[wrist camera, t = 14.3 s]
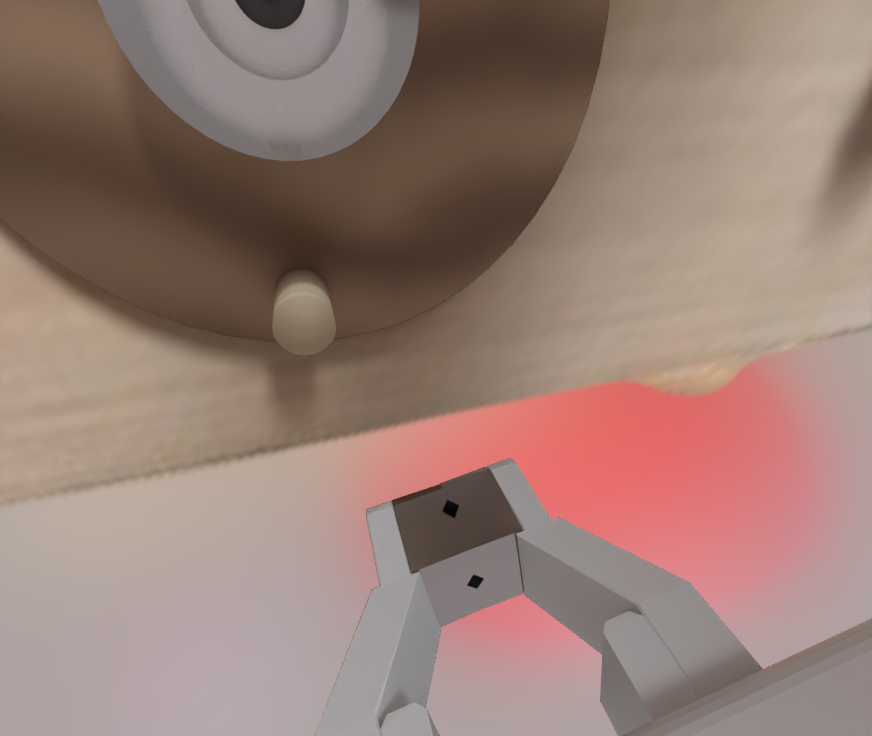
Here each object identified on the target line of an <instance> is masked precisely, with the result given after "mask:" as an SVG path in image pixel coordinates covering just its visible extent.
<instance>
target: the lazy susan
mask: <svg viewBox="0 0 872 736" xmlns="http://www.w3.org/2000/svg"><path fill="white" fill-rule="evenodd" d="M608 8H609V0H419V11H420V12H419V23H418V34H417V40H416V45H415V50H414V55H413V58H412V62H411V65H410V68H409V71H408V74H407V77H406V79H405V81H404V83H403V86H402V88H401V90H400V92H399V94H398V96H397V97H396V99H395V101H394V102H393V104H392V105H391V107H390V109H389V110H388V111H387V113H386V114H385V115H384V116H383V117H382V119H381V120H380V121H379V122H378V123H377V124H376V125H375V126H374V127H373V128H372V129H371V130H370V131H369V132H368V133H367V134H366V135H364V136H363V137H361V138H360V139H359V140H357V141H356V142H354V143H353V144H351V145H350V146H348V147H345V148H343V149H341V150H339V151H337V152H335V153H332V154H329V155H326V156H323V157H320V158H314V159H308V160H302V161H280V160H271V159H264V158H260V157H255V156H251V155H247V154H244V153H242V152H239V151H236V150H234V149H231V148H229V147H226V146H224V145H222V144H220V143H218V142H216V141H215V140H213V139H211V138H209V137H207V136H205V135H204V134H202V133H201V132H199V131H198V130H196V129H195V128H193V127H192V126H190V125H189V124H188V123H186V122H185V121H184V120H183V119H182V118H180V117H179V116H178V115H177V114H176V113H174V112H173V111H172V110H171V109H170V108H169V107H168V106H167V105H166V104H165V103H164V102H163V101H162V100H161V99H160V98H159V97H158V96H157V95H156V94H155V93H154V92H153V91H152V90H151V89H150V88H149V86H148V85H147V84H146V83H145V81H144V80H143V79H142V78H141V76H140V75H139V74H138V73H137V71H136V70H135V69H134V67H133V66H132V64H131V63H130V61H129V60H128V58H127V57H126V55H125V54H124V52H123V51H122V49H121V48H120V46H119V44H118V42H117V40H116V38H115V36H114V35H113V33H112V31H111V29H110V27H109V25H108V23H107V21H106V19H105V16H104V14H103V11H102V9H101V7H100V4H99V2H98V0H0V219H1V220H2V221H3V222H5V223H6V224H7V225H8V226H9V227H10V228H11V229H13V230H14V231H15V232H17V233H18V234H19V235H21V236H22V237H23V238H25V239H26V240H27V241H29V242H30V243H31V244H33V245H34V246H36V247H37V248H38V249H40V250H41V251H42V252H44V253H45V254H46V255H48V256H49V257H50V258H52V259H53V260H54V261H56V262H57V263H59V264H60V265H62V266H64V267H65V268H67V269H69V270H70V271H72V272H74V273H75V274H77V275H79V276H80V277H82V278H84V279H85V280H87V281H89V282H90V283H92V284H94V285H95V286H97V287H98V288H100V289H102V290H104V291H106V292H108V293H110V294H112V295H114V296H116V297H118V298H120V299H122V300H125V301H127V302H129V303H131V304H133V305H135V306H137V307H139V308H141V309H143V310H146V311H148V312H151V313H154V314H156V315H159V316H162V317H165V318H168V319H170V320H173V321H176V322H179V323H181V324H184V325H187V326H190V327H194V328H199V329H203V330H207V331H211V332H215V333H219V334H223V335H227V336H233V337H240V338H248V339H255V340H262V341H277V343H278V344H279V345H280V346H281V347H282V348H283V349H285V350H286V351H288V352H290V353H292V354H296V355H301V356H308V355H314V354H317V353H319V352H321V351H323V350H325V349H326V348H327V347H328V346H329V345H330V344H331V342H332V341H333V339H341V338H346V337H351V336H355V335H360V334H365V333H370V332H374V331H377V330H380V329H383V328H386V327H389V326H392V325H395V324H398V323H401V322H404V321H406V320H408V319H410V318H412V317H414V316H416V315H419V314H421V313H423V312H425V311H427V310H429V309H431V308H433V307H435V306H437V305H438V304H440V303H441V302H443V301H445V300H446V299H448V298H449V297H451V296H453V295H454V294H456V293H457V292H459V291H460V290H462V289H463V288H465V287H466V286H467V285H468V284H470V283H471V282H472V281H473V280H474V279H476V278H477V277H478V276H479V275H481V274H482V273H483V272H484V271H486V270H487V269H488V268H489V267H490V266H491V265H492V264H493V263H494V262H495V261H496V260H497V259H498V258H499V257H500V256H501V255H502V254H503V253H504V252H505V251H506V250H507V249H508V248H509V247H510V246H511V245H512V244H513V243H514V241H515V240H516V239H517V238H518V236H519V235H520V234H521V232H522V231H523V230H524V229H525V227H526V226H527V225H528V224H529V222H530V221H531V220H532V219H533V217H534V216H535V215H536V213H537V211H538V210H539V208H540V207H541V205H542V203H543V202H544V200H545V199H546V197H547V196H548V194H549V192H550V191H551V189H552V188H553V186H554V184H555V182H556V180H557V178H558V176H559V174H560V172H561V170H562V168H563V166H564V164H565V162H566V160H567V158H568V156H569V154H570V152H571V150H572V148H573V145H574V143H575V140H576V138H577V135H578V132H579V130H580V127H581V124H582V122H583V119H584V116H585V114H586V111H587V108H588V105H589V101H590V97H591V94H592V90H593V86H594V83H595V79H596V75H597V72H598V68H599V64H600V58H601V52H602V47H603V41H604V35H605V30H606V24H607V18H608Z"/></svg>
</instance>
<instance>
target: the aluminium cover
mask: <svg viewBox="0 0 872 736" xmlns="http://www.w3.org/2000/svg"><path fill="white" fill-rule="evenodd" d="M98 2H99V4H100V7H101V9H102V11H103V14H104V16H105V19H106V21H107V23H108V25H109V27H110V29H111V31H112V33H113V35H114V36H115V38H116V40H117V42H118V44H119V46H120V48H121V49H122V51H123V52H124V54H125V55H126V57H127V58H128V60H129V61H130V63H131V64H132V66H133V67H134V69H135V70H136V71H137V73H138V74H139V75H140V76H141V78H142V79H143V80H144V81H145V83H146V84H147V85H148V86H149V88H150V89H151V90H152V91H153V92H154V93H155V94H156V95H157V96H158V97H159V98H160V99H161V100H162V101H163V102H164V103H165V104H166V105H167V106H168V107H169V108H170V109H171V110H172V111H173V112H174V113H176V114H177V115H178V116H179V117H180V118H182V119H183V120H184V121H185V122H186V123H188V124H189V125H190V126H192V127H193V128H195V129H196V130H198V131H199V132H201V133H202V134H204V135H205V136H207V137H209V138H211V139H213V140H215V141H216V142H218V143H220V144H222V145H224V146H226V147H229V148H231V149H234V150H236V151H239V152H242V153H244V154H247V155H251V156H255V157H260V158H264V159H271V160H280V161H302V160H308V159H314V158H320V157H323V156H326V155H329V154H332V153H335V152H337V151H339V150H341V149H343V148H345V147H348V146H350V145H351V144H353V143H354V142H356V141H357V140H359V139H360V138H361V137H363V136H364V135H366V134H367V133H368V132H369V131H370V130H371V129H372V128H373V127H374V126H375V125H376V124H377V123H378V122H379V121H380V120H381V119H382V117H383V116H384V115H385V114H386V113H387V111H388V110H389V109H390V107H391V105H392V104H393V102H394V101H395V99H396V97H397V96H398V94H399V92H400V90H401V88H402V86H403V83H404V81H405V79H406V77H407V74H408V71H409V68H410V65H411V62H412V58H413V55H414V50H415V45H416V40H417V34H418V23H419V12H420V11H419V0H98Z"/></svg>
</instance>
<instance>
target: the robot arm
mask: <svg viewBox="0 0 872 736" xmlns="http://www.w3.org/2000/svg"><path fill="white" fill-rule="evenodd" d="M366 518H367V523H368V529H369V534H370V539H371V544H372V549H373V554H374V559H375V564H376V570H377V575H378V580H379V585H380V586H379V587H377V588H374V589H372V590H371V593H370V596H369V598H368V600H367V603H366V606H365V608H364V611H363V613H362V616H361V618H360V621H359V623H358V626H357V629H356V631H355V634H354V636H353V639H352V641H351V644H350V646H349V649H348V651H347V654H346V657H345V659H344V662H343V664H342V667H341V669H340V672H339V674H338V677H337V680H336V682H335V685H334V687H333V690H332V692H331V695H330V697H329V700H328V703H327V705H326V708H325V710H324V713H323V715H322V718H321V721H320V723H319V726H318V728H317V730H316V733H315V736H440V735H439V733H438V731H437V729H436V727H435V725H434V723H433V721H432V719H431V717H430V715H429V713H428V710H427V709H426V704H427V699H428V694H429V689H430V683H431V679H432V673H433V668H434V663H435V658H436V653H437V648H438V643H439V638H440V632H441V630H440V627H442V626H444V625H447V624H449V623H451V622H453V621H456V620H458V619H460V618H463V617H465V616H467V615H470V614H472V613H474V612H476V611H479V610H481V609H483V608H486V607H489V606H491V605H494V604H497V603H500V602H502V601H505V600H508V599H510V598H513V597H516V596H518V595H521V594H524V593H525V596H526V597H527V598H529V599H530V600H531V601H533V602H534V603H535V604H537V605H538V606H539V607H541V608H542V609H543V610H545V611H546V612H547V613H548V614H550V615H551V616H553V617H554V618H555V619H556V620H558V621H559V622H560V623H562V624H563V625H564V626H566V627H567V628H568V629H570V630H571V631H572V632H573V633H575V634H576V635H577V636H579V637H580V638H581V639H583V640H584V641H585V642H587V643H588V644H589V645H590V646H592V647H593V648H594V649H596V650H597V651H598V652H600V653H601V654H602V674H601V694H600V695H601V696H600V702H601V703H602V705H603V707H604V709H605V711H606V713H607V715H608V717H609V719H610V721H611V723H612V725H613V727H614V729H615V731H616V733H617V735H618V736H872V619H870V620H867V621H865V622H863V623H861V624H859V625H857V626H855V627H852V628H850V629H848V630H846V631H844V632H842V633H840V634H838V635H835V636H833V637H831V638H829V639H827V640H825V641H823V642H820V643H818V644H816V645H814V646H812V647H810V648H807V649H805V650H803V651H801V652H799V653H797V654H795V655H792V656H790V657H788V658H786V659H784V660H782V661H780V662H777V663H775V664H773V665H771V666H769V667H767V668H765V669H762V668H761V666H760V665H759V664H758V663H757V662H756V660H755V659H754V658H753V657H752V656H751V655H750V653H749V652H748V651H747V650H746V648H745V647H744V646H743V645H742V644H741V643H740V641H739V640H738V639H737V638H736V636H735V635H734V634H733V633H732V632H731V631H730V629H729V628H728V627H727V626H726V625H725V623H724V622H723V621H722V620H721V619H720V617H719V616H718V615H717V614H716V613H715V612H714V610H713V609H712V608H711V607H710V606H709V604H708V603H707V602H706V601H705V600H704V598H703V597H702V596H701V595H700V593H699V592H698V591H697V590H696V589H695V588H694V586H693V585H692V584H691V583H690V582H688V581H686V580H684V579H682V578H680V577H678V576H676V575H673V574H672V573H670V572H668V571H666V570H664V569H662V568H660V567H658V566H655V565H654V564H652V563H650V562H648V561H646V560H644V559H642V558H640V557H638V556H636V555H634V554H632V553H630V552H628V551H626V550H624V549H622V548H620V547H618V546H616V545H614V544H612V543H610V542H608V541H606V540H604V539H602V538H600V537H598V536H596V535H594V534H592V533H590V532H588V531H586V530H584V529H582V528H580V527H578V526H576V525H574V524H572V523H570V522H568V521H566V520H564V519H562V518H560V517H559V518H556V519H553V520H552V519H551V517H550V516H549V514H548V512H547V511H546V509H545V508H544V506H543V505H542V503H541V502H540V500H539V498H538V497H537V495H536V494H535V492H534V491H533V489H532V488H531V486H530V484H529V483H528V481H527V480H526V478H525V477H524V475H523V473H522V472H521V470H520V469H519V467H518V466H517V464H516V463H515V461H514V460H513V459H511V458H508V459H505V460H503V461H500V462H497V463H494V464H492V465H489V466H487V467H483V468H480V469H477V470H475V471H472V472H469V473H467V474H464V475H462V476H459V477H456V478H453V479H451V480H448V481H445V482H443V483H440V484H439V485H436V486H434V487H430V488H428V489H424V490H421V491H418V492H415V493H412V494H409V495H406V496H403V497H400V498H397V499H394V500H392V501H389V502H386V503H383V504H380V505H377V506H374V507H371V508H368V509H366Z"/></svg>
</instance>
